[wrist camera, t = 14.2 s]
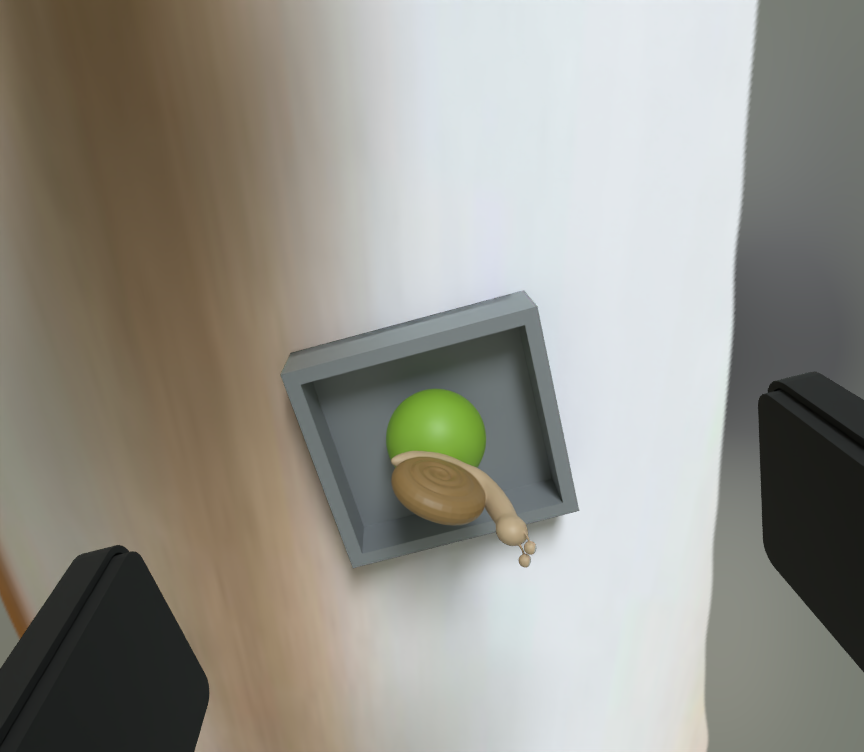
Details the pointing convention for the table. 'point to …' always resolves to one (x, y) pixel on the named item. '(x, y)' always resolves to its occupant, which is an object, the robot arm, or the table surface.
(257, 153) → the table surface
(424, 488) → the snail figurine
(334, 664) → the table surface
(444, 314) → the bin
